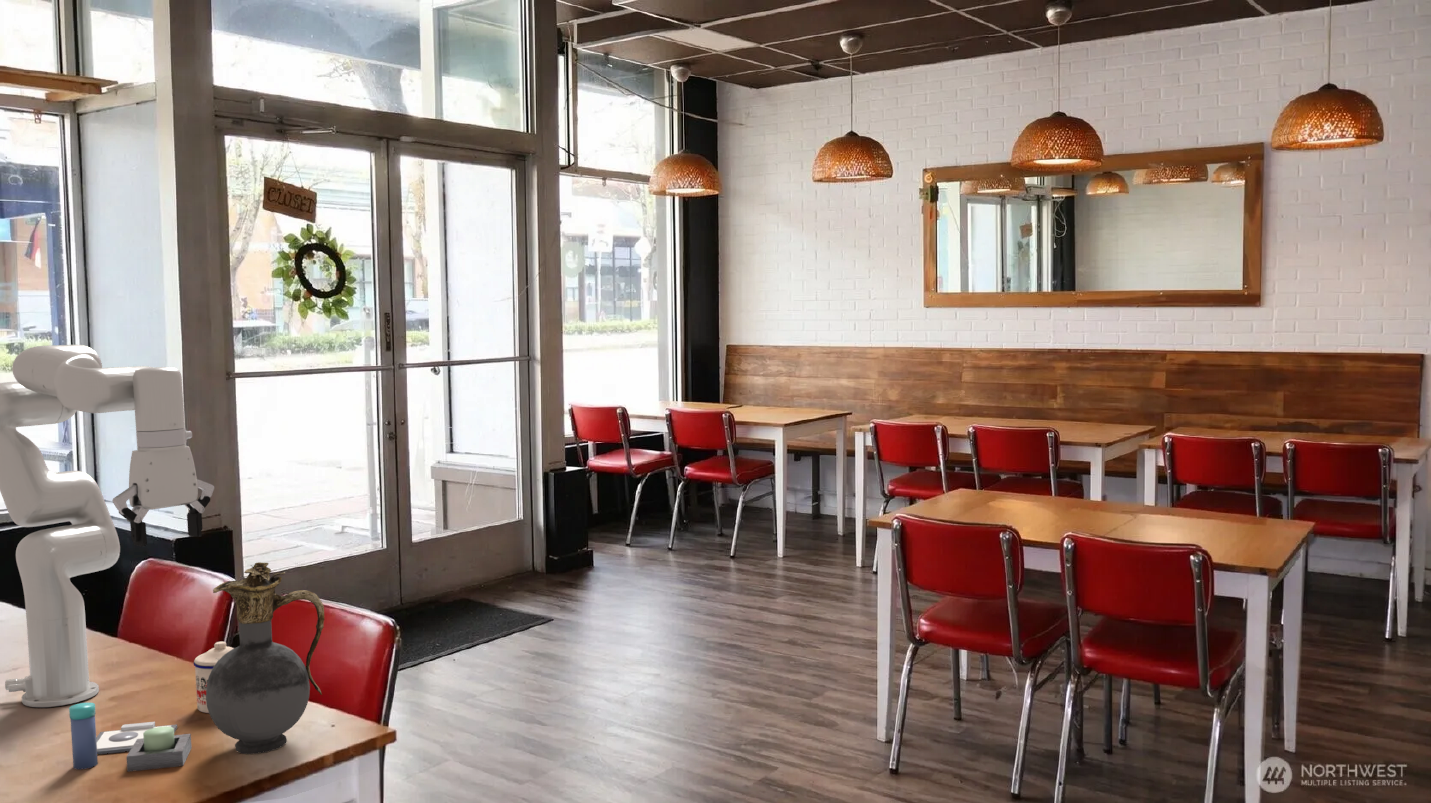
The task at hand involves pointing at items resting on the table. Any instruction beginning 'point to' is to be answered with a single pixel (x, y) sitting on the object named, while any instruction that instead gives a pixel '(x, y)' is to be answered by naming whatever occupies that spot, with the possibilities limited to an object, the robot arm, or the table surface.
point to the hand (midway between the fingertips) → (168, 540)
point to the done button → (159, 739)
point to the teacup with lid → (207, 671)
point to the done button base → (159, 755)
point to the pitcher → (260, 668)
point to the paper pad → (123, 737)
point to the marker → (83, 735)
